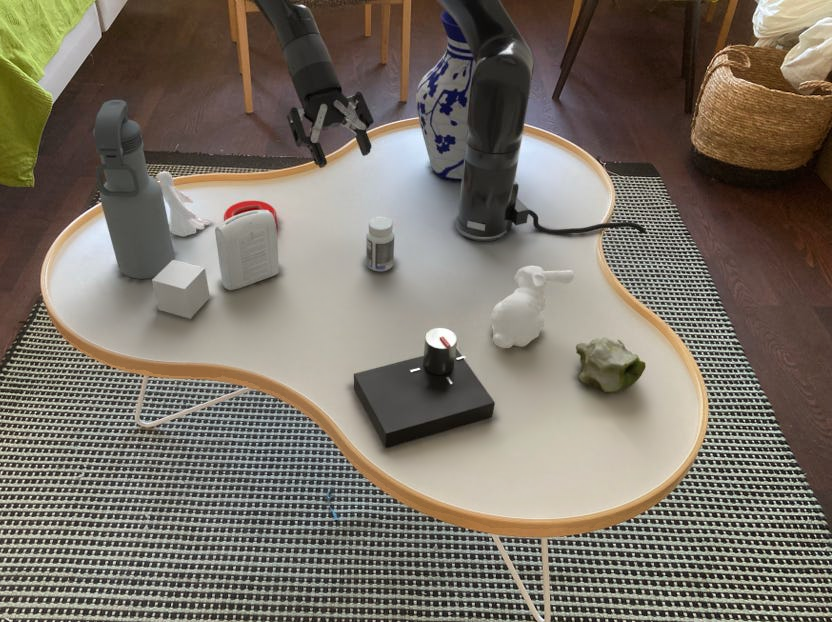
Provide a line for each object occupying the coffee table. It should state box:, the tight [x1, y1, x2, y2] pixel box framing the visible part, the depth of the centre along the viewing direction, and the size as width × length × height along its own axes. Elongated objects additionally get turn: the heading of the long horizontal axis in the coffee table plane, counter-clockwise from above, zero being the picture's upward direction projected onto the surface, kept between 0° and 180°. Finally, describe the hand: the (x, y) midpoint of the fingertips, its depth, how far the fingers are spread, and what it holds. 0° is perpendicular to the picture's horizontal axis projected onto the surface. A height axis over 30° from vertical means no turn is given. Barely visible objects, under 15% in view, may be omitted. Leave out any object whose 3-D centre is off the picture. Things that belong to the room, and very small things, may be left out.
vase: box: [415, 9, 476, 182], centre depth 142 cm, size 19×19×30 cm
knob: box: [422, 327, 458, 375], centre depth 103 cm, size 4×4×5 cm
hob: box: [353, 348, 496, 449], centre depth 103 cm, size 16×14×3 cm
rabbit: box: [491, 265, 575, 349], centre depth 110 cm, size 12×9×12 cm
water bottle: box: [92, 99, 176, 280], centre depth 118 cm, size 10×10×28 cm
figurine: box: [155, 170, 210, 237], centre depth 132 cm, size 8×8×12 cm
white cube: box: [151, 259, 211, 320], centre depth 118 cm, size 6×6×6 cm
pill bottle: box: [365, 216, 395, 272], centre depth 125 cm, size 5×5×8 cm
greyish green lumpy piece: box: [575, 337, 646, 393], centre depth 105 cm, size 9×9×8 cm
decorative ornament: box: [223, 200, 278, 232], centre depth 135 cm, size 10×10×3 cm
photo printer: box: [214, 210, 280, 291], centre depth 121 cm, size 10×4×12 cm, turn 123°
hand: (345, 160), depth 125 cm, fingers open, 8 cm apart
